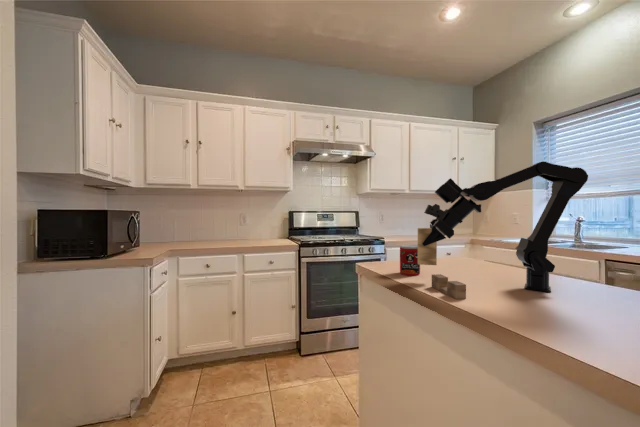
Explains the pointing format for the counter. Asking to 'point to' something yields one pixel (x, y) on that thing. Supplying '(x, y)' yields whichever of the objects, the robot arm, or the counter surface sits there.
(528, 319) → the counter surface
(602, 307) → the counter surface
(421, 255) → the beige tall block
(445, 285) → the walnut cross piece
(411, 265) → the canned food
